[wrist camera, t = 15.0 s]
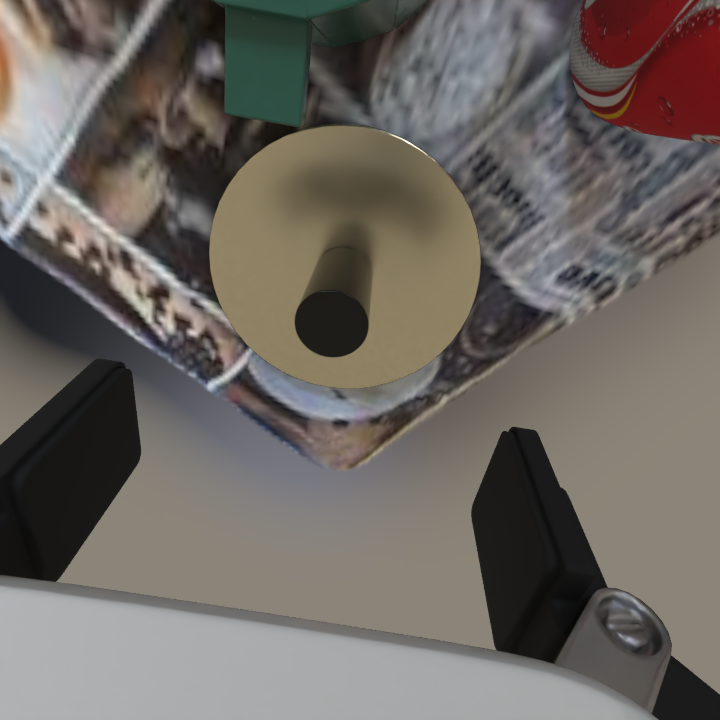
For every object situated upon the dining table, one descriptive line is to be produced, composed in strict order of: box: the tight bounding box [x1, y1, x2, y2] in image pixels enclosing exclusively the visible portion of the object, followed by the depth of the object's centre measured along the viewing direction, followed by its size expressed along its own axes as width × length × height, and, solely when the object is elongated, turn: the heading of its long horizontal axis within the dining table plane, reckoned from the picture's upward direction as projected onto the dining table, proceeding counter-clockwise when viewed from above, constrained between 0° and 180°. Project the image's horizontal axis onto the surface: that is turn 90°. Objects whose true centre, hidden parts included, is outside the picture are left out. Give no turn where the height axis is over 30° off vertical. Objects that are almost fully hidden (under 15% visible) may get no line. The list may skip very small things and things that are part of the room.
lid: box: [209, 123, 481, 388], centre depth 22 cm, size 14×14×7 cm
